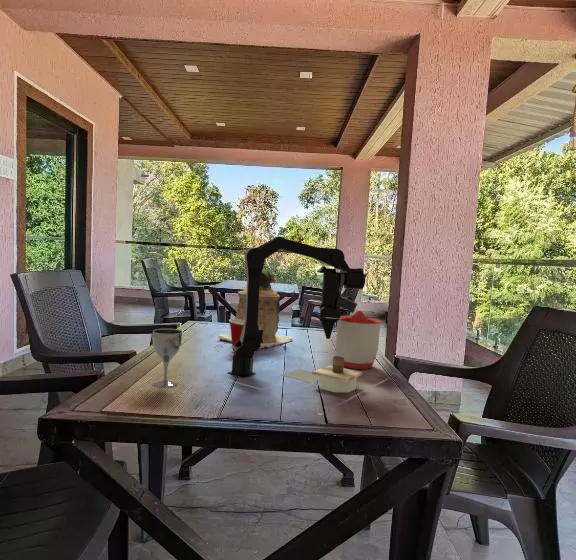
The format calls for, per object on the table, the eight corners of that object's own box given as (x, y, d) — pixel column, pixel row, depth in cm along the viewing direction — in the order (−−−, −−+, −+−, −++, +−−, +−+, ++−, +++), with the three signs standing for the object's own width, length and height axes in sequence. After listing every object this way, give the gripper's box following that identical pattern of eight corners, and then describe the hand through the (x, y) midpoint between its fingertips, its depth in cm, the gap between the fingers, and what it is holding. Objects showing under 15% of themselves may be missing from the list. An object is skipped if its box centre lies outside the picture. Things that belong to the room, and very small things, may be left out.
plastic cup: (259, 355, 172) (261, 323, 172) (231, 355, 168) (233, 323, 168) (250, 348, 182) (252, 318, 182) (223, 348, 178) (225, 318, 178)
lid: (345, 382, 129) (347, 364, 129) (312, 374, 136) (313, 356, 135) (362, 374, 139) (363, 357, 138) (330, 367, 145) (331, 351, 144)
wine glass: (149, 380, 132) (151, 328, 131) (177, 379, 135) (180, 328, 134) (151, 388, 125) (154, 333, 124) (181, 387, 128) (184, 333, 127)
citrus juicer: (379, 362, 173) (383, 309, 172) (375, 374, 156) (380, 315, 155) (338, 357, 177) (341, 305, 176) (329, 367, 160) (334, 310, 159)
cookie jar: (265, 350, 182) (270, 268, 180) (215, 340, 194) (219, 264, 191) (294, 341, 203) (299, 268, 201) (247, 332, 215) (252, 264, 213)
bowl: (344, 395, 130) (345, 381, 130) (312, 387, 136) (313, 374, 136) (359, 387, 139) (360, 374, 139) (329, 380, 144) (330, 368, 144)
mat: (310, 384, 139) (310, 382, 139) (280, 376, 145) (280, 375, 145) (328, 377, 149) (328, 375, 148) (299, 370, 155) (299, 368, 155)
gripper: (359, 292, 138) (355, 343, 139) (354, 287, 157) (350, 332, 158) (321, 289, 139) (318, 341, 140) (321, 285, 157) (318, 330, 158)
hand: (327, 336), depth 149 cm, fingers open, 9 cm apart
